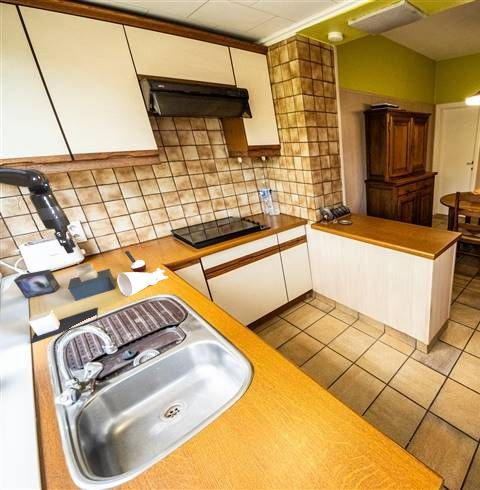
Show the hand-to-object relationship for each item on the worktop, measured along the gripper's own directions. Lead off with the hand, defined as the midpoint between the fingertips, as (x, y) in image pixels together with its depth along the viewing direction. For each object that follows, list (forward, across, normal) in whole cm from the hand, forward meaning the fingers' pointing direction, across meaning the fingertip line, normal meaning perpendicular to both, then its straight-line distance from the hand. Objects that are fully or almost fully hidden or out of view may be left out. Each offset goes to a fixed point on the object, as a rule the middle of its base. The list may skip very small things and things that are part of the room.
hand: (72, 250), depth 121 cm
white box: (+22, +27, -12) cm, 37 cm away
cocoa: (+23, -10, +18) cm, 31 cm away
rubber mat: (+22, +27, -7) cm, 36 cm away
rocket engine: (+23, +16, +20) cm, 34 cm away
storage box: (+22, -2, 0) cm, 23 cm away
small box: (+23, -19, -20) cm, 36 cm away
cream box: (+15, -2, 0) cm, 16 cm away
